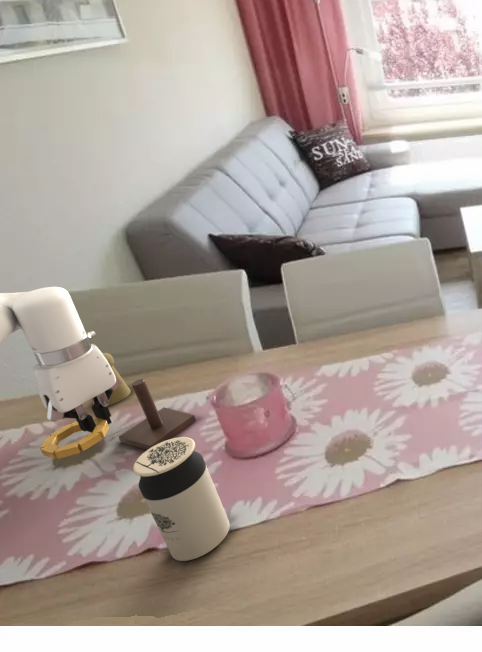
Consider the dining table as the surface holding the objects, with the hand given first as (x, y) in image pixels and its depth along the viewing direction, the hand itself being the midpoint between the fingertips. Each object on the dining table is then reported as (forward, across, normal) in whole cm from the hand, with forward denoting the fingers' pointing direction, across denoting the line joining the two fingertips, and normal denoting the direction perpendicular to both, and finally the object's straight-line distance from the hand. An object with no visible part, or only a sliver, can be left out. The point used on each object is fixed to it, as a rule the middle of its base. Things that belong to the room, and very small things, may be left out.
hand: (97, 426), depth 108 cm
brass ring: (0, +4, 0) cm, 4 cm away
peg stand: (+3, -5, +10) cm, 11 cm away
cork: (+3, -10, -12) cm, 16 cm away
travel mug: (+3, +11, +42) cm, 44 cm away
